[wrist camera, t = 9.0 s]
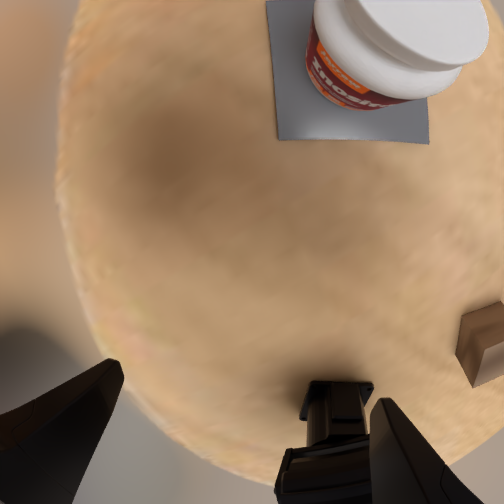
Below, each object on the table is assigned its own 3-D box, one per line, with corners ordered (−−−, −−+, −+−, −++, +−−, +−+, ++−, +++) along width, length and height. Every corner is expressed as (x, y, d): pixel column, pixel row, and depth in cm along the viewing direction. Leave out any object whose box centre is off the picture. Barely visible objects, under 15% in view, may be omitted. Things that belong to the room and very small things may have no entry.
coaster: (424, 143, 16) (429, 144, 15) (279, 140, 18) (278, 140, 17) (408, 13, 12) (412, 10, 11) (266, 5, 14) (265, 0, 13)
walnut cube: (491, 339, 21) (511, 370, 16) (454, 354, 22) (472, 388, 18) (500, 300, 19) (525, 330, 15) (461, 315, 20) (484, 349, 16)
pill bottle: (291, 91, 15) (288, 26, 5) (319, 12, 13) (340, -96, 3) (385, 128, 15) (492, 129, 5) (409, 50, 13) (507, -8, 3)
